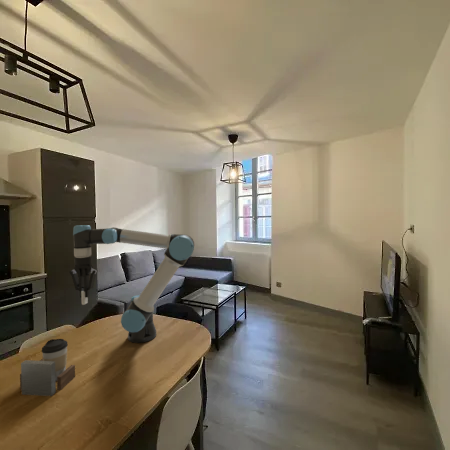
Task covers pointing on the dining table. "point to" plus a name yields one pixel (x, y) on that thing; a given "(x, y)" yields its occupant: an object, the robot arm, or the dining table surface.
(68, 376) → the walnut shelf wall
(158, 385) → the dining table surface
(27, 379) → the grey bookend
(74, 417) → the dining table surface
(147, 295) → the robot arm
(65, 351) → the coffee cup
